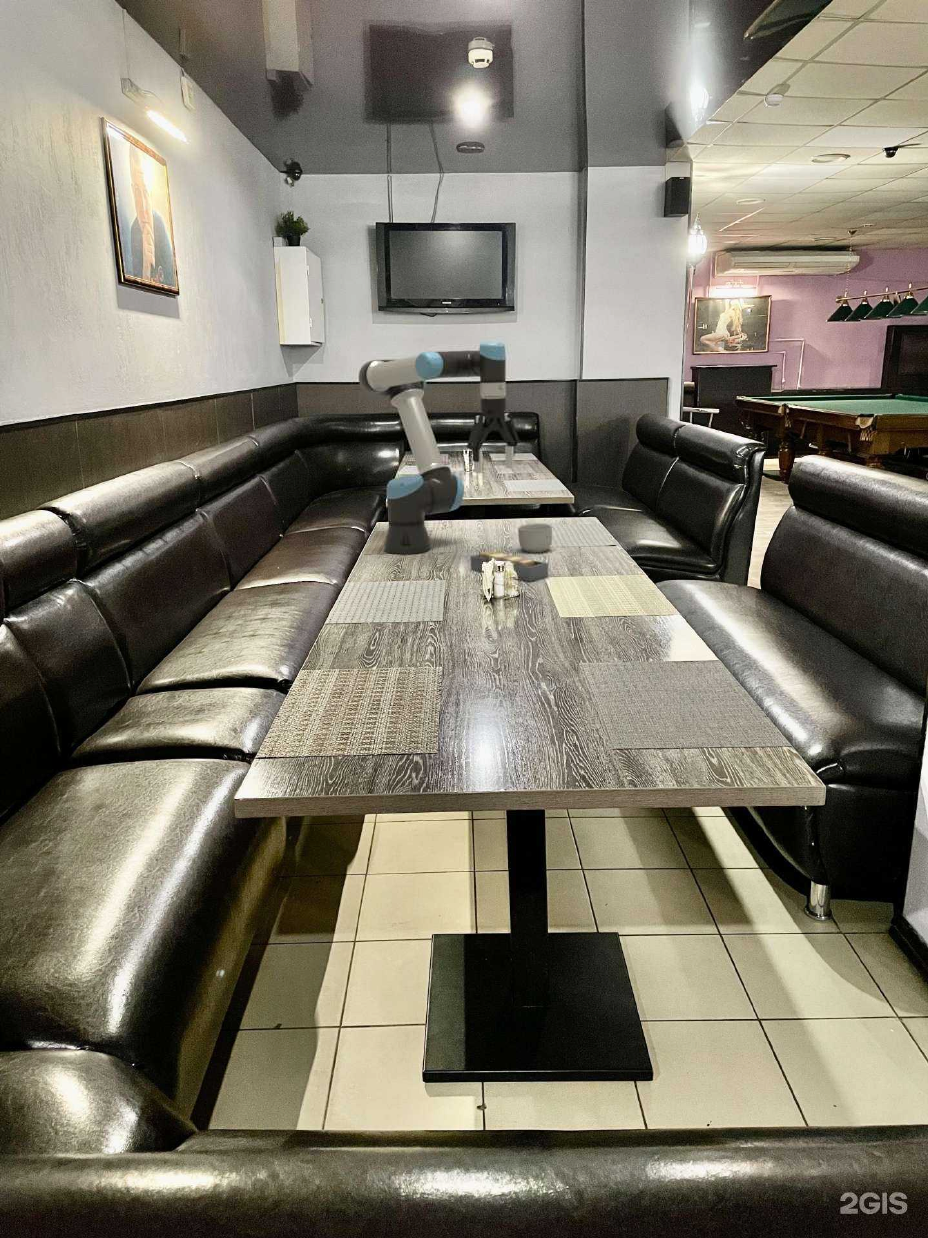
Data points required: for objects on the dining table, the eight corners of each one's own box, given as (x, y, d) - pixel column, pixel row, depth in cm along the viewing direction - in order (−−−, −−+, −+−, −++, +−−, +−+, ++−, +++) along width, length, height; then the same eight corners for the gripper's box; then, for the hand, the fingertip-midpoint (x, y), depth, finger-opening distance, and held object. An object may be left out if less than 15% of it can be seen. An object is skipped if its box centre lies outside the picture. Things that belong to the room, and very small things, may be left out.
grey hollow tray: (547, 577, 244) (548, 563, 243) (530, 582, 239) (530, 567, 238) (531, 573, 249) (531, 560, 247) (514, 578, 244) (513, 564, 242)
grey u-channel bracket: (471, 569, 255) (470, 556, 254) (488, 565, 260) (488, 552, 259) (485, 572, 251) (485, 559, 250) (503, 568, 256) (503, 554, 255)
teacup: (553, 553, 273) (553, 528, 271) (518, 554, 273) (518, 529, 271) (549, 544, 286) (550, 520, 284) (516, 545, 287) (516, 521, 284)
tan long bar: (480, 570, 256) (480, 553, 254) (490, 567, 258) (490, 551, 257) (524, 580, 243) (523, 562, 241) (534, 577, 245) (534, 560, 244)
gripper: (472, 399, 246) (473, 475, 252) (530, 395, 263) (531, 466, 269) (453, 399, 251) (455, 473, 257) (512, 395, 268) (513, 465, 274)
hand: (494, 470), depth 263 cm, fingers open, 13 cm apart
